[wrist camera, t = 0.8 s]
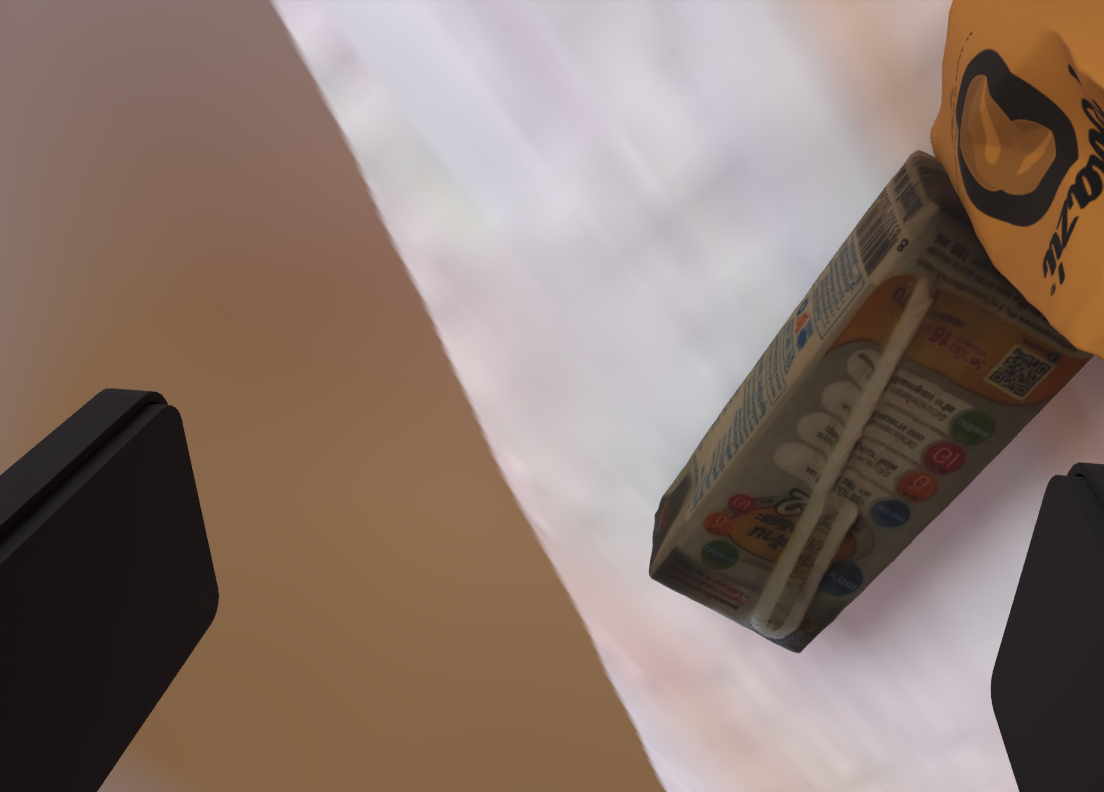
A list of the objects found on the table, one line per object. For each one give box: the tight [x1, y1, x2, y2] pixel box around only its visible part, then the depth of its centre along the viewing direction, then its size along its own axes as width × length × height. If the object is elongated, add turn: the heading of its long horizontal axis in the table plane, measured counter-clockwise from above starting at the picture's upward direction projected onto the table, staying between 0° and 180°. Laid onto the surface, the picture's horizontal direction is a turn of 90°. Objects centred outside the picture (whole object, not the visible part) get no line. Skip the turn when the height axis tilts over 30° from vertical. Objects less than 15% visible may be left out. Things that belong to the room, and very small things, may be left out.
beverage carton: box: [649, 150, 1094, 653], centre depth 37 cm, size 8×19×7 cm, turn 154°
